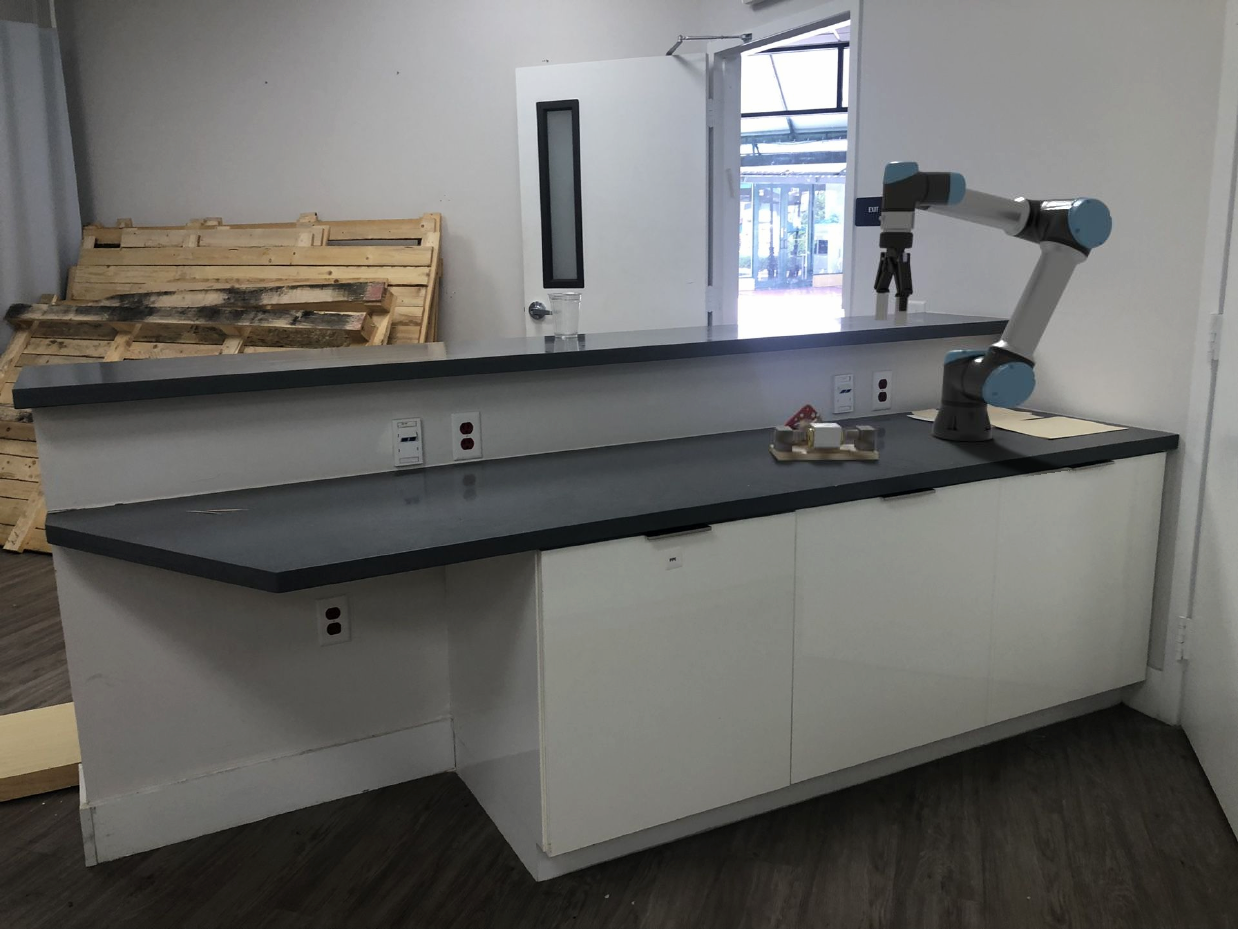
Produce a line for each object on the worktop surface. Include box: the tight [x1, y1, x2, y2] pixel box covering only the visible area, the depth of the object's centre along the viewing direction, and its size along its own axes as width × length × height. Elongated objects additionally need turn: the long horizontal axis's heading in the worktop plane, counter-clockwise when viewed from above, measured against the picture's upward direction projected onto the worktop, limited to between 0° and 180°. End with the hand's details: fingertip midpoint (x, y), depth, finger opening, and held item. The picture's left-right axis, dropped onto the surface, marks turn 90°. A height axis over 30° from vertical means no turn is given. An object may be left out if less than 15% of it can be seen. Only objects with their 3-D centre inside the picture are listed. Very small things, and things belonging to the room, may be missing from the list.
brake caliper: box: [784, 403, 827, 445], centre depth 242 cm, size 11×11×12 cm
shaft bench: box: [769, 425, 880, 461], centre depth 234 cm, size 24×10×7 cm, turn 93°
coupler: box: [806, 422, 845, 450], centre depth 233 cm, size 8×5×6 cm, turn 94°
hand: (890, 323), depth 230 cm, fingers open, 13 cm apart
